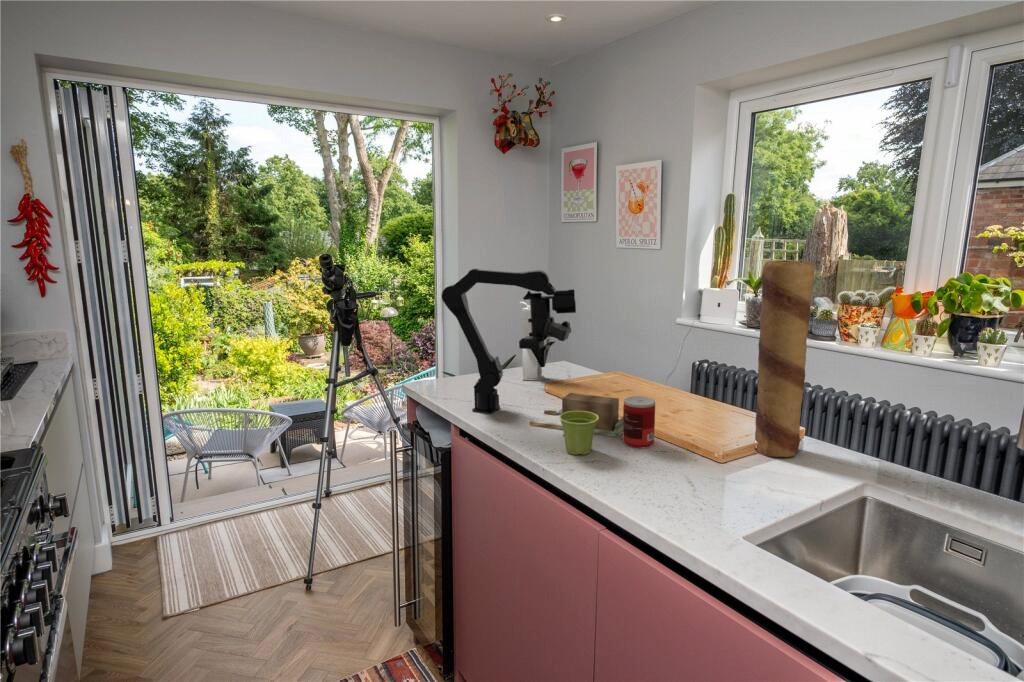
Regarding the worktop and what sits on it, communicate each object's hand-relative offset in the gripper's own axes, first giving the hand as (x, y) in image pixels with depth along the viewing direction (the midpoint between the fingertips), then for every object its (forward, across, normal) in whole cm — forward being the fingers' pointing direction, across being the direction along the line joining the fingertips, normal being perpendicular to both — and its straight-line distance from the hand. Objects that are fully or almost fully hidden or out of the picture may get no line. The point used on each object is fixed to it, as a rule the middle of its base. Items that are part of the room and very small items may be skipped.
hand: (542, 366), depth 168 cm
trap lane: (+14, -7, -14) cm, 21 cm away
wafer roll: (+16, -7, -62) cm, 65 cm away
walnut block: (+14, -8, -17) cm, 23 cm away
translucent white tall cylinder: (+14, +34, +20) cm, 41 cm away
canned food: (+14, -15, -32) cm, 38 cm away
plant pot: (+14, -26, -20) cm, 36 cm away
